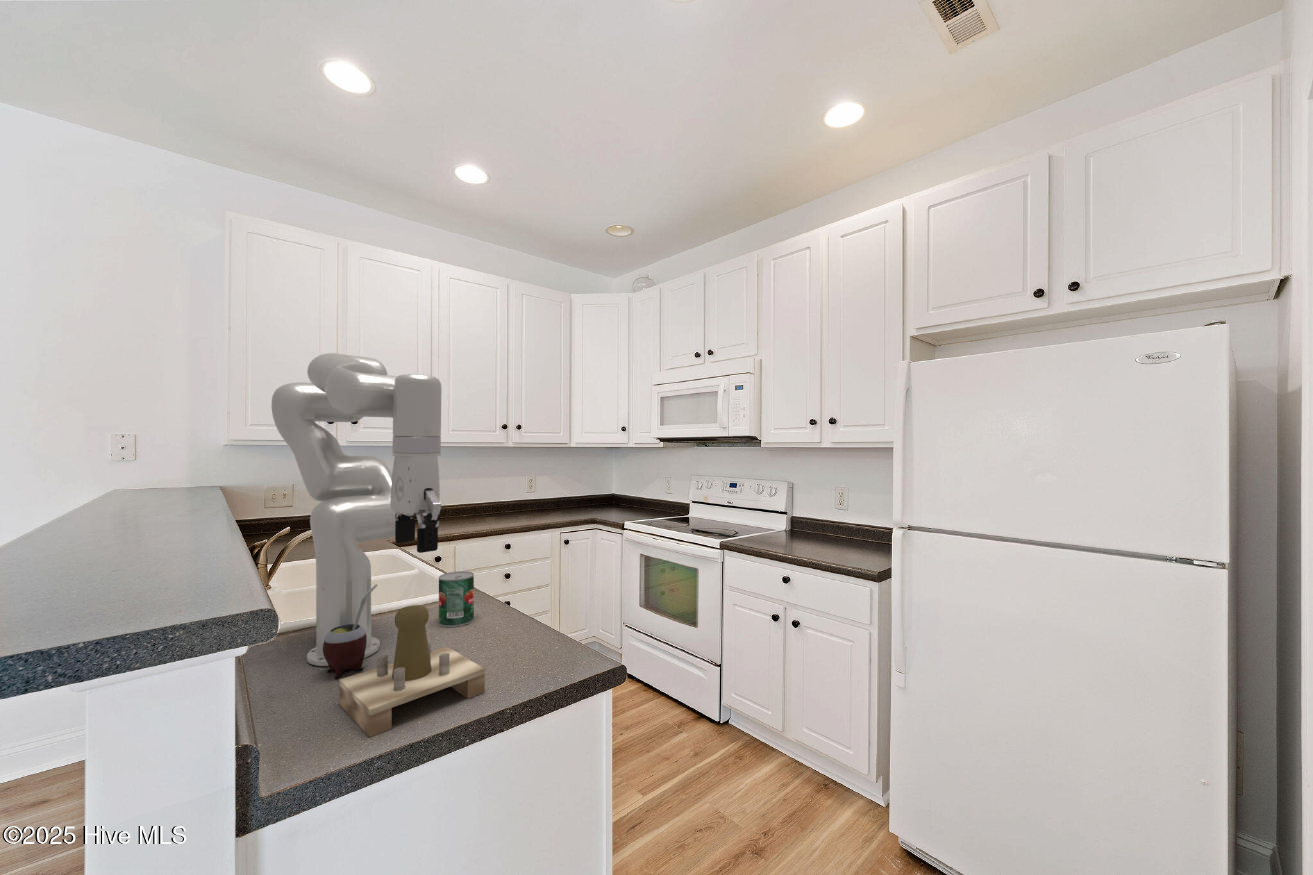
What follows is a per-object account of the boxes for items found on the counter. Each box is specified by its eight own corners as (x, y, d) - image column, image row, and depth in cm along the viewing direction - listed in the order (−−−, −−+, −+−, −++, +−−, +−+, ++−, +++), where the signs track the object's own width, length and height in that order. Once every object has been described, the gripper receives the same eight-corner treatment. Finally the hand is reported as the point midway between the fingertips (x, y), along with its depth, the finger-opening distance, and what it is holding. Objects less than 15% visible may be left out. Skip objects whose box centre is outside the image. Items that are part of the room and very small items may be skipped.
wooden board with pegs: (339, 703, 84) (339, 661, 84) (447, 667, 97) (447, 630, 97) (369, 737, 74) (369, 688, 74) (484, 692, 88) (484, 650, 88)
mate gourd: (314, 680, 92) (314, 597, 92) (338, 662, 100) (338, 584, 100) (357, 679, 93) (357, 596, 93) (378, 660, 101) (378, 583, 101)
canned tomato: (433, 621, 123) (433, 575, 123) (466, 613, 128) (466, 569, 128) (445, 630, 117) (445, 581, 117) (479, 621, 122) (479, 575, 122)
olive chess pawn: (437, 664, 89) (437, 601, 89) (422, 680, 83) (422, 612, 83) (402, 665, 89) (401, 601, 89) (384, 681, 83) (384, 613, 83)
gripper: (376, 445, 92) (375, 541, 92) (414, 449, 80) (412, 559, 80) (419, 445, 97) (418, 535, 97) (461, 448, 85) (459, 552, 85)
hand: (415, 546), depth 89 cm, fingers open, 9 cm apart
